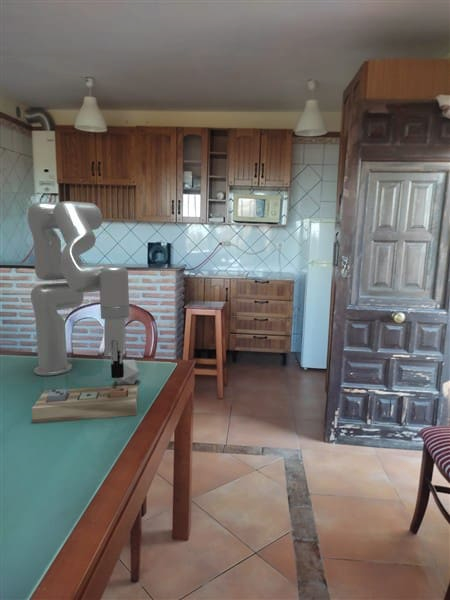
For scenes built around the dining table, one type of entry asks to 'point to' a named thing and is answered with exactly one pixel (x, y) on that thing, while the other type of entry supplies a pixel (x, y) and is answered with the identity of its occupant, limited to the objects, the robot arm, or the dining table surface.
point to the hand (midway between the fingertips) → (117, 376)
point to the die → (129, 373)
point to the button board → (85, 405)
